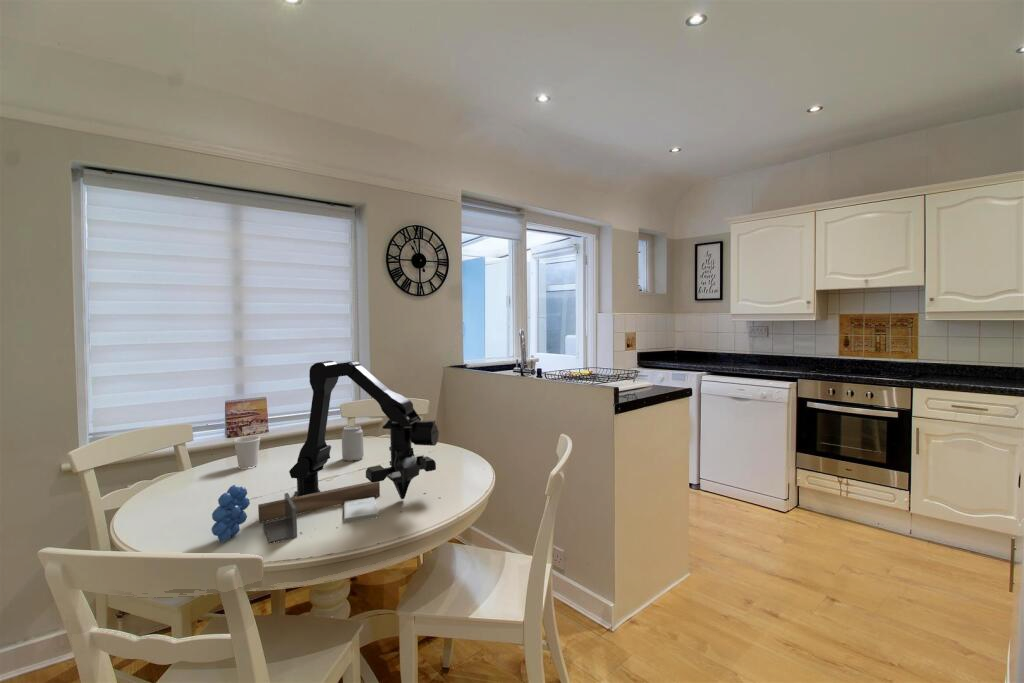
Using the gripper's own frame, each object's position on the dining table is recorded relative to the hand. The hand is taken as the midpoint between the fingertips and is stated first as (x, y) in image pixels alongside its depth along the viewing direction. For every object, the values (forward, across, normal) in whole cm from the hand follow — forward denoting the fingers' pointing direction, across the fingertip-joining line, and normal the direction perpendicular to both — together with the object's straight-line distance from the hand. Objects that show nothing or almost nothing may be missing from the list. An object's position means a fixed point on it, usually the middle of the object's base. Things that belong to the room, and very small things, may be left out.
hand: (402, 498), depth 133 cm
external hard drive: (+1, -12, 0) cm, 12 cm away
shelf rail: (0, -20, +8) cm, 21 cm away
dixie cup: (+1, -33, +63) cm, 71 cm away
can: (+1, 0, +50) cm, 50 cm away
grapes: (+1, -42, +3) cm, 42 cm away
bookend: (+1, -32, -1) cm, 32 cm away
